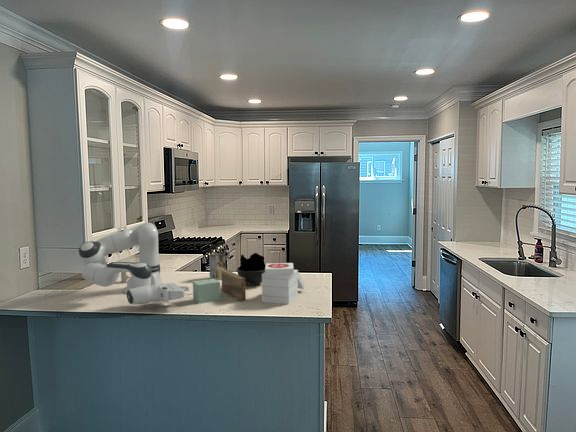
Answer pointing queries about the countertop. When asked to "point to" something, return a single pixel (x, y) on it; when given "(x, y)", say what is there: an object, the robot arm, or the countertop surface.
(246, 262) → the coal bowl
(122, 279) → the architectural model
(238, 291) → the walnut backstop board
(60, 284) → the countertop surface
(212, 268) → the coffee box
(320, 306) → the countertop surface
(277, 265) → the pizza box stack
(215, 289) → the sage block
